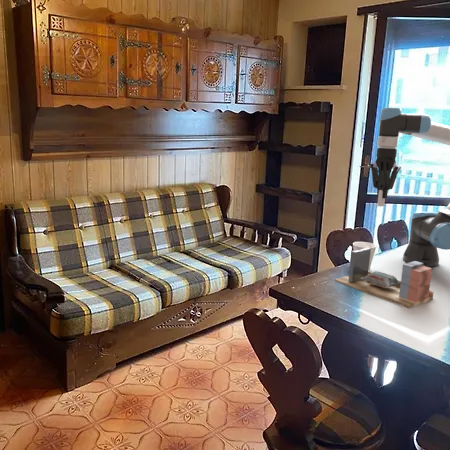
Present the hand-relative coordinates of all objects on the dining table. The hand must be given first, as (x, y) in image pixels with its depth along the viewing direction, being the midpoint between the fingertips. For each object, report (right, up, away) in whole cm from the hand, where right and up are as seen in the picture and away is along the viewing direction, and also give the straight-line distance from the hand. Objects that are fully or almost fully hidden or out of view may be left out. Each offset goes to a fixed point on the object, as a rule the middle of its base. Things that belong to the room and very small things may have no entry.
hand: (380, 205), depth 193 cm
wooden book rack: (-5, -32, -15) cm, 36 cm away
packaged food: (-9, -32, -13) cm, 36 cm away
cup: (-5, -27, +9) cm, 29 cm away
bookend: (-12, -29, -9) cm, 33 cm away
